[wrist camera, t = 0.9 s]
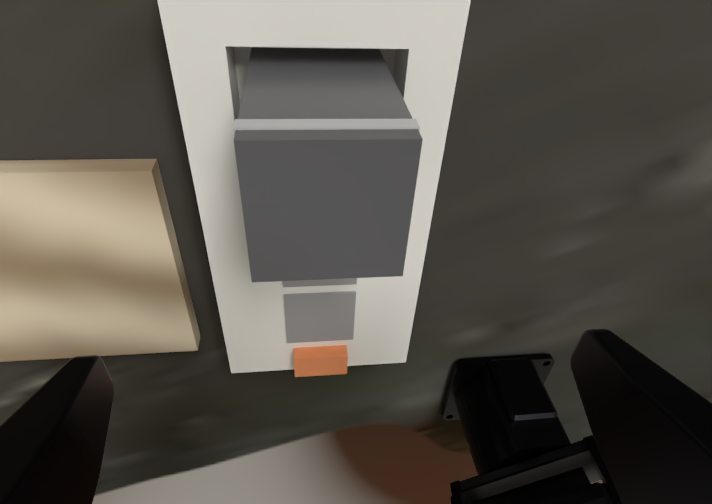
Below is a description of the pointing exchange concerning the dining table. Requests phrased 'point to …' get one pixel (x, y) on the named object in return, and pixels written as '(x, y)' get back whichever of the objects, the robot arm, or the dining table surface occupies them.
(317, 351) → the switch housing
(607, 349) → the robot arm
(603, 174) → the dining table surface
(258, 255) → the block
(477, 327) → the dining table surface
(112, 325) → the birch pad
